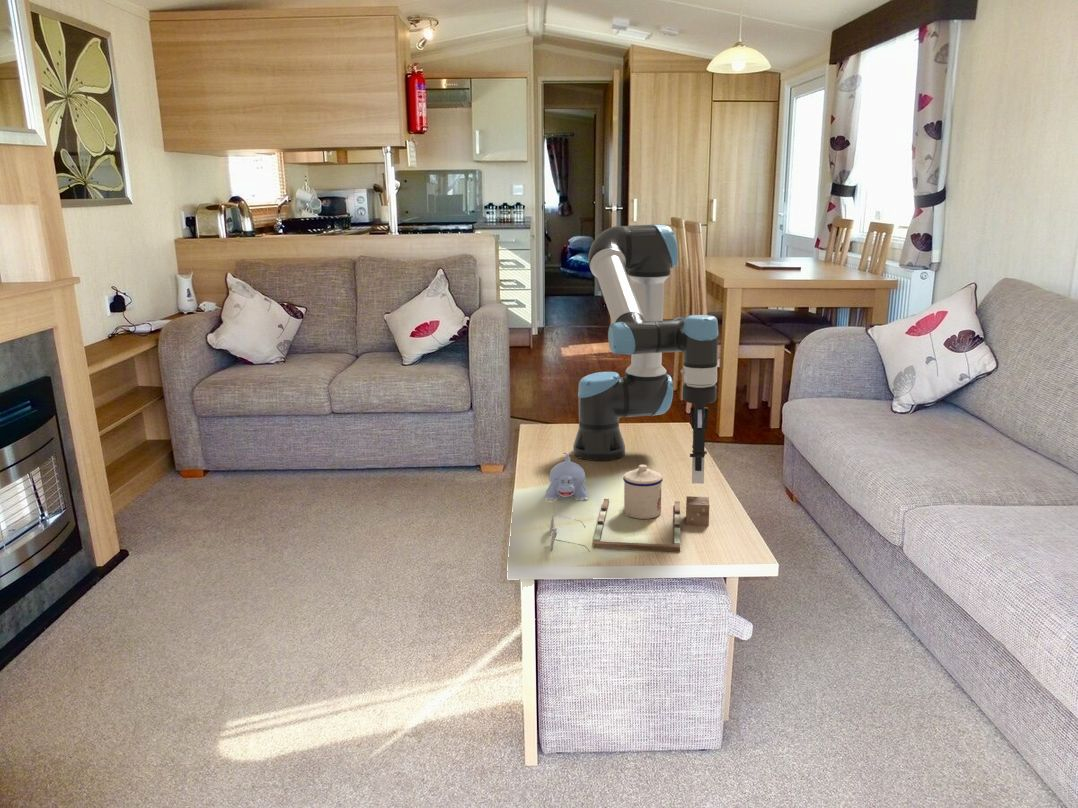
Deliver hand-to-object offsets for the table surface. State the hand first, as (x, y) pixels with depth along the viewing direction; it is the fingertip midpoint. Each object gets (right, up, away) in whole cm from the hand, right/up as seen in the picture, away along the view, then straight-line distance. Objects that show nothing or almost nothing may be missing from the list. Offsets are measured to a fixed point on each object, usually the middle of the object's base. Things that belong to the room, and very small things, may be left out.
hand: (697, 482), depth 186 cm
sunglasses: (-31, -12, -13) cm, 35 cm away
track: (-14, -9, -6) cm, 18 cm away
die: (-1, -8, -5) cm, 10 cm away
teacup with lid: (-13, -7, +2) cm, 15 cm away
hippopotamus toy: (-30, -5, +12) cm, 33 cm away
